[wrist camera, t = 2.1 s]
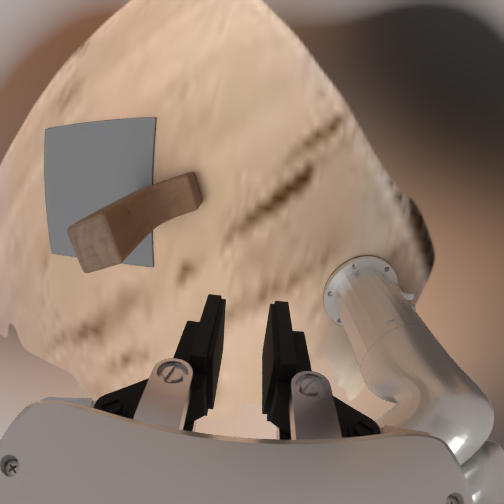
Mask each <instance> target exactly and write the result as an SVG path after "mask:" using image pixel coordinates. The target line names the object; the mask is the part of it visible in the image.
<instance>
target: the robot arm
mask: <svg viewBox="0 0 504 504" xmlns="http://www.w3.org/2000/svg"><path fill="white" fill-rule="evenodd" d="M353 264H354V265H353ZM329 291H330V292H329ZM413 299H414V294H413V292H403V291H402V290H401V289H400V288H399V286H398V279H397V275H396V273H395V271H394V270H393V268H392V267H391V266H390V265H389V264H388V263H387V262H386V261H384V260H382V259H380V258H377V257H373V256H362V257H357V258H354V259H352V260H350V261H347V262H346V263H344V264H343V265H341V266H340V267H339V268H338V269H337V270H336V271H335V272H334V273H333V274H332V276H331V277H330V278H329V280H328V282H327V284H326V287H325V290H324V297H323V300H324V306H325V309H326V312H327V314H328V316H329V317H330V318H331V319H332V320H333V321H334V322H335V323H336V324H338V325H340V326H343V327H344V329H345V332H346V334H347V337H348V339H349V342H350V344H351V347H352V349H353V352H354V355H355V357H356V360H357V362H358V365H359V368H360V370H361V373H362V376H363V379H364V381H365V383H366V385H367V387H368V389H369V390H370V391H371V392H372V393H373V394H374V395H376V396H377V397H379V398H381V399H383V400H386V401H389V402H392V403H396V405H395V406H394V407H393V408H392V409H391V410H389V411H388V412H387V413H385V414H384V415H383V416H382V417H381V418H379V419H378V420H376V421H373V420H372V419H370V418H369V417H367V416H365V415H364V414H362V413H360V412H359V411H357V410H355V409H353V408H352V407H350V406H349V405H347V404H345V403H344V402H342V401H341V400H339V399H337V398H336V397H334V396H333V395H332V390H331V386H330V383H329V381H328V380H327V378H326V377H325V376H323V375H321V374H320V373H317V372H313V371H312V370H311V365H310V360H309V355H308V350H307V345H306V340H305V335H304V332H299V331H292V324H291V318H290V311H289V305H288V302H282V301H275V304H270V308H269V315H268V321H267V328H266V334H265V340H264V346H263V354H262V413H263V414H267V421H270V422H272V423H273V424H274V425H276V426H277V440H275V439H253V438H240V437H239V438H238V437H229V436H219V435H212V434H204V433H197V432H195V427H196V420H197V419H199V418H201V417H203V416H204V415H205V416H207V413H208V409H213V407H214V401H215V395H216V389H217V383H218V377H219V371H220V365H221V359H222V353H223V342H224V323H225V305H226V299H221V296H220V295H211V294H209V295H208V298H207V301H206V304H205V307H204V310H203V313H202V316H201V320H200V322H194V321H187V323H186V326H185V328H184V331H183V334H182V336H181V339H180V342H179V344H178V347H177V350H176V352H175V355H174V358H169V359H164V360H162V361H160V362H158V363H157V364H156V365H155V366H154V368H153V370H152V373H151V375H150V377H149V378H148V379H146V380H143V381H141V382H138V383H136V384H133V385H130V386H128V387H125V388H122V389H120V390H117V391H114V392H112V393H109V394H106V395H104V396H102V397H100V398H99V399H98V400H97V401H93V400H92V399H91V398H57V397H49V398H45V399H43V400H41V401H40V402H35V403H32V404H30V405H28V406H27V407H26V408H24V409H23V410H22V411H21V412H20V413H19V415H18V416H17V417H16V418H15V419H14V421H13V422H12V423H11V425H10V426H9V428H8V429H7V431H6V432H5V434H4V435H3V437H2V439H1V441H0V504H504V450H503V449H502V448H501V447H500V446H499V445H498V444H496V443H494V442H492V441H488V440H487V438H488V436H489V435H490V432H491V430H492V427H493V422H494V411H493V407H492V405H491V403H490V401H489V399H488V397H487V396H486V394H485V393H484V392H483V391H482V390H481V388H480V387H479V386H478V385H477V384H476V383H475V382H474V381H473V380H472V379H471V378H470V377H469V376H468V375H467V374H466V373H465V372H464V371H463V370H462V369H461V368H460V367H459V366H458V365H457V364H456V363H455V361H454V360H453V359H452V358H451V357H450V356H449V355H448V353H447V352H446V351H445V350H444V348H443V347H442V346H441V344H440V343H439V342H438V341H437V339H436V338H435V337H434V335H433V334H432V333H431V331H430V330H429V329H428V327H427V326H426V325H425V323H424V322H423V321H422V319H421V318H420V317H419V316H418V314H417V313H416V312H415V305H414V304H409V303H408V302H407V301H412V300H413Z"/></svg>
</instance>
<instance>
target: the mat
mask: <svg viewBox="0 0 504 504" xmlns="http://www.w3.org/2000/svg"><path fill="white" fill-rule="evenodd" d="M155 129H156V117H150V118H130V119H117V120H105V121H96V122H87V123H80V124H72V125H66V126H60V127H54V128H48V129H45V144H44V180H45V200H46V212H47V223H48V231H49V239H50V246H51V252H52V254H58V255H65V256H71V257H77V256H76V253H75V251H74V249H73V246H72V244H71V241H70V239H69V236H68V233H67V229H68V227H69V226H71V225H73V224H74V223H76V222H78V221H79V220H81V219H83V218H85V217H87V216H88V215H90V214H92V213H94V212H96V211H98V210H99V209H101V208H103V207H105V206H107V205H109V204H111V203H113V202H115V201H117V200H119V199H121V198H123V197H125V196H127V195H129V194H131V193H133V192H135V191H137V190H140V189H142V188H145V187H148V186H151V185H153V161H154V143H155ZM122 264H129V265H137V266H145V267H154V261H153V230H152V231H151V232H150V233H149V235H148V236H147V237H146V238H145V239H144V240H143V241H142V242H141V243H140V244H139V245H138V246H137V247H136V248H135V249H134V250H133V251H132V252H131V253H130V254H129V255H128V257H127V258H126V259H125V260H124V261H123V262H122Z"/></svg>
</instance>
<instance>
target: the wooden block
mask: <svg viewBox="0 0 504 504" xmlns="http://www.w3.org/2000/svg"><path fill="white" fill-rule="evenodd" d="M201 203H202V198H201V195H200V191H199V188H198V185H197V181H196V178H195V175H194V173H193V172H190V173H187V174H184V175H180V176H177V177H174V178H171V179H168V180H165V181H162V182H159V183H157V184H154V185H151V186H148V187H145V188H142V189H140V190H137V191H135V192H133V193H131V194H129V195H127V196H125V197H123V198H121V199H119V200H117V201H115V202H113V203H111V204H109V205H107V206H105V207H103V208H101V209H99V210H98V211H96V212H94V213H92V214H90V215H88V216H87V217H85V218H83V219H81V220H79V221H78V222H76V223H74V224H73V225H71V226H69V227H68V229H67V233H68V236H69V239H70V241H71V244H72V246H73V249H74V251H75V253H76V256H77V258H78V260H79V263H80V265H81V267H82V269H83V271H84V272H85V273H90V272H94V271H97V270H100V269H104V268H107V267H110V266H114V265H117V264H121V263H122V262H123V261H124V260H125V259H126V258H127V257H128V255H129V254H130V253H131V252H132V251H133V250H134V249H135V248H136V247H137V246H138V245H139V244H140V243H141V242H142V241H143V240H144V239H145V238H146V237H147V236H148V235H149V233H150V232H151V231H152V230H153V229H155V228H156V227H157V226H159V225H160V224H162V223H164V222H166V221H168V220H170V219H172V218H174V217H177V216H180V215H183V214H186V213H189V212H192V211H195V210H197V209H198V207H199V206H200V205H201Z"/></svg>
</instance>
